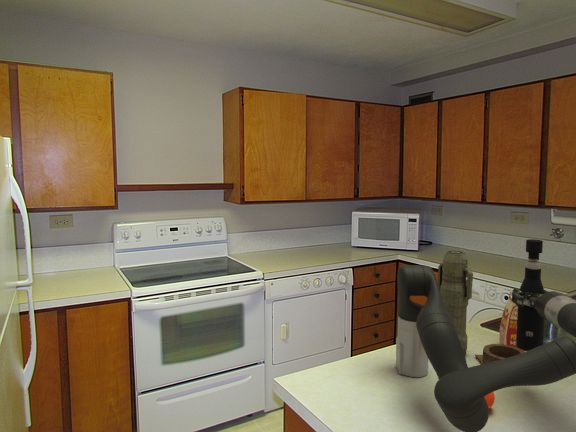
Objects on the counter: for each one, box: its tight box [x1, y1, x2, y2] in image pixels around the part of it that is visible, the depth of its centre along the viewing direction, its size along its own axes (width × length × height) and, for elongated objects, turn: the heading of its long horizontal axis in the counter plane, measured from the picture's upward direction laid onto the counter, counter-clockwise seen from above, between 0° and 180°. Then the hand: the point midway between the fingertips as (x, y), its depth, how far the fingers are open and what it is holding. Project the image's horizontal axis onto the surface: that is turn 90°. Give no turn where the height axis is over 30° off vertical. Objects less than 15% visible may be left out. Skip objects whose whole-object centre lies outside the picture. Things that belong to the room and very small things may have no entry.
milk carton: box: [498, 291, 527, 352], centre depth 142 cm, size 9×9×20 cm
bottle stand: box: [474, 343, 524, 365], centre depth 129 cm, size 13×13×5 cm
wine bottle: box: [516, 238, 545, 351], centre depth 112 cm, size 6×6×30 cm
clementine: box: [484, 391, 496, 409], centre depth 107 cm, size 8×7×7 cm
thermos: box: [437, 250, 474, 358], centre depth 137 cm, size 9×12×35 cm
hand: (527, 292), depth 115 cm, fingers closed on wine bottle, 6 cm apart
